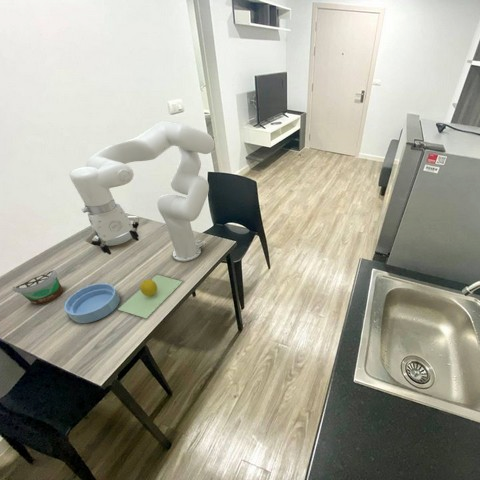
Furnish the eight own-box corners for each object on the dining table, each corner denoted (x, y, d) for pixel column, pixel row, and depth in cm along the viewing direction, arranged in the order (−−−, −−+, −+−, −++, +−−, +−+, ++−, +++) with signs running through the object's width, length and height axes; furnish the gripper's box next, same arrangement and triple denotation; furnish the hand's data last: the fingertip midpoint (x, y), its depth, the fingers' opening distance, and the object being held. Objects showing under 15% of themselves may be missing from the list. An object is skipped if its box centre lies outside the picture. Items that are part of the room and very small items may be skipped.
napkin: (157, 275, 115) (156, 274, 115) (182, 282, 113) (182, 281, 113) (117, 309, 100) (117, 309, 100) (146, 318, 98) (146, 318, 97)
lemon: (153, 301, 104) (146, 287, 99) (140, 298, 104) (133, 284, 100) (162, 291, 108) (157, 277, 103) (150, 288, 109) (144, 274, 104)
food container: (33, 312, 96) (16, 294, 90) (26, 305, 98) (10, 286, 93) (73, 292, 105) (60, 274, 99) (66, 285, 107) (53, 267, 101)
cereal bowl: (116, 228, 140) (111, 217, 136) (145, 233, 139) (141, 222, 134) (90, 248, 126) (83, 236, 122) (122, 253, 125) (116, 241, 121)
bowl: (113, 286, 109) (108, 277, 106) (125, 307, 101) (120, 298, 98) (66, 306, 99) (60, 297, 96) (76, 331, 92) (69, 322, 89)
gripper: (76, 221, 78) (102, 263, 88) (135, 198, 90) (151, 238, 100) (64, 213, 81) (90, 254, 91) (122, 192, 93) (140, 231, 103)
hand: (122, 246), depth 96 cm, fingers open, 9 cm apart
